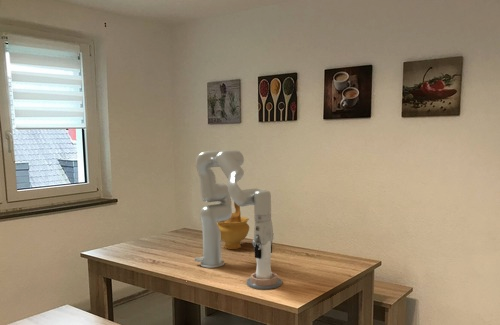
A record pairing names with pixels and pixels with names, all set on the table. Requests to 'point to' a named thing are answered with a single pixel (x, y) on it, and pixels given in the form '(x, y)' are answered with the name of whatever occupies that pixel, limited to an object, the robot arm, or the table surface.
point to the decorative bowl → (234, 229)
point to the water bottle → (264, 262)
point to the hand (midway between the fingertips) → (263, 255)
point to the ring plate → (264, 282)
